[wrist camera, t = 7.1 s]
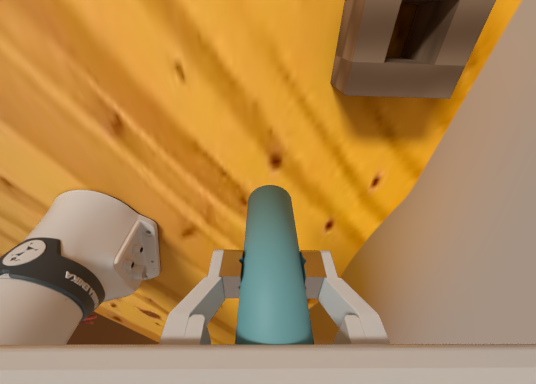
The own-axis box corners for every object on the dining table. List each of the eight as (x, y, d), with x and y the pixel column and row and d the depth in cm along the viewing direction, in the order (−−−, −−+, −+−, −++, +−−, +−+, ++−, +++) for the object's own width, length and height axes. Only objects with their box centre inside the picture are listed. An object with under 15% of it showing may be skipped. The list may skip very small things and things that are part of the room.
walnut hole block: (415, 85, 26) (449, 98, 22) (330, 83, 26) (345, 95, 21) (460, -34, 21) (520, -53, 16) (351, -39, 20) (378, -60, 16)
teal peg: (289, 219, 17) (312, 398, 9) (248, 218, 17) (233, 398, 9) (293, 185, 15) (328, 369, 7) (248, 184, 15) (229, 370, 7)
